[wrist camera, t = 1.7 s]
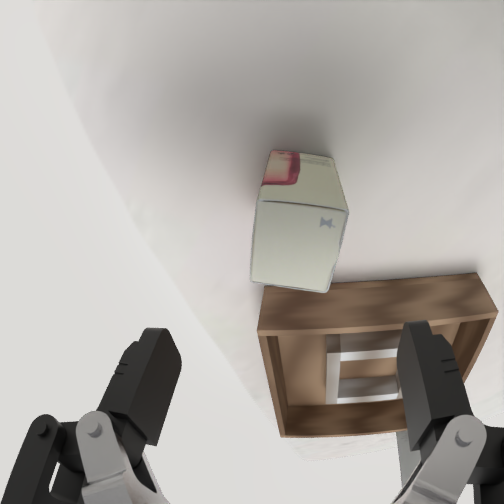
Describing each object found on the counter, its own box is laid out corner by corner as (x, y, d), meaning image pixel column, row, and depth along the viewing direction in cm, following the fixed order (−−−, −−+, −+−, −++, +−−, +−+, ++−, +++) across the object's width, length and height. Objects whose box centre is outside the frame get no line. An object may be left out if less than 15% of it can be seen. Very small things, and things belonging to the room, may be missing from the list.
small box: (270, 147, 21) (254, 195, 14) (335, 157, 20) (351, 209, 14) (263, 215, 23) (246, 284, 17) (322, 223, 23) (328, 296, 17)
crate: (476, 272, 23) (498, 311, 19) (431, 392, 33) (438, 425, 29) (264, 286, 27) (256, 330, 23) (284, 402, 37) (280, 437, 33)
